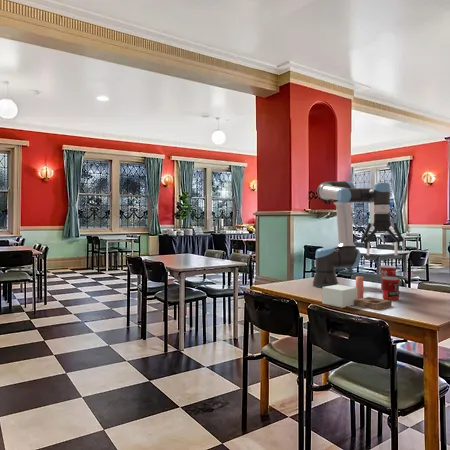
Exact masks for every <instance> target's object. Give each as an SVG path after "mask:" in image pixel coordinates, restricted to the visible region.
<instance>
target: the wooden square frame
mask: <svg viewBox="0 0 450 450" xmlns="http://www.w3.org/2000/svg"><path fill="white" fill-rule="evenodd" d="M392 304H393V301H390V300H384V299H383V298H378V297H372V296H365V297H363V298H361V299H356V300H354V305H353V306H357V307H360V308H367V309H371V310H375V311H376V310H377V311H378V310H382V309H385V308H391V307H392Z"/></svg>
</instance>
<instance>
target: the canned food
mask: <svg viewBox="0 0 450 450" xmlns="http://www.w3.org/2000/svg"><path fill="white" fill-rule="evenodd" d="M399 278H400V277H398V276H396V277H383V280H382V283H383V290H382V299H384V300H390V301H392V302H395V301H399V299H400V279H399Z"/></svg>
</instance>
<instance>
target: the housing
mask: <svg viewBox="0 0 450 450" xmlns="http://www.w3.org/2000/svg"><path fill="white" fill-rule="evenodd" d="M321 290H322V299H321V301H322V302H321V303H322V304H324V305H326V306H327V305H328V306H333V307H336V308H337V307H338V308H341V309H343V308H347V307H346V306H348V307H352V306H355V305H354V300H356V299H357V288H356V286H355V287H354V286H348V285H344V284H343V285H342V284H338V285H332V286H326V287H322V289H321ZM351 305H352V306H351Z"/></svg>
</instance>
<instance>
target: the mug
mask: <svg viewBox="0 0 450 450" xmlns="http://www.w3.org/2000/svg"><path fill="white" fill-rule="evenodd" d="M379 272H380V273H379V274H380V288H381V291H383V283H382V280H383V277H397V266H395V265H393V266H392V265H380V266H379Z"/></svg>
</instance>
